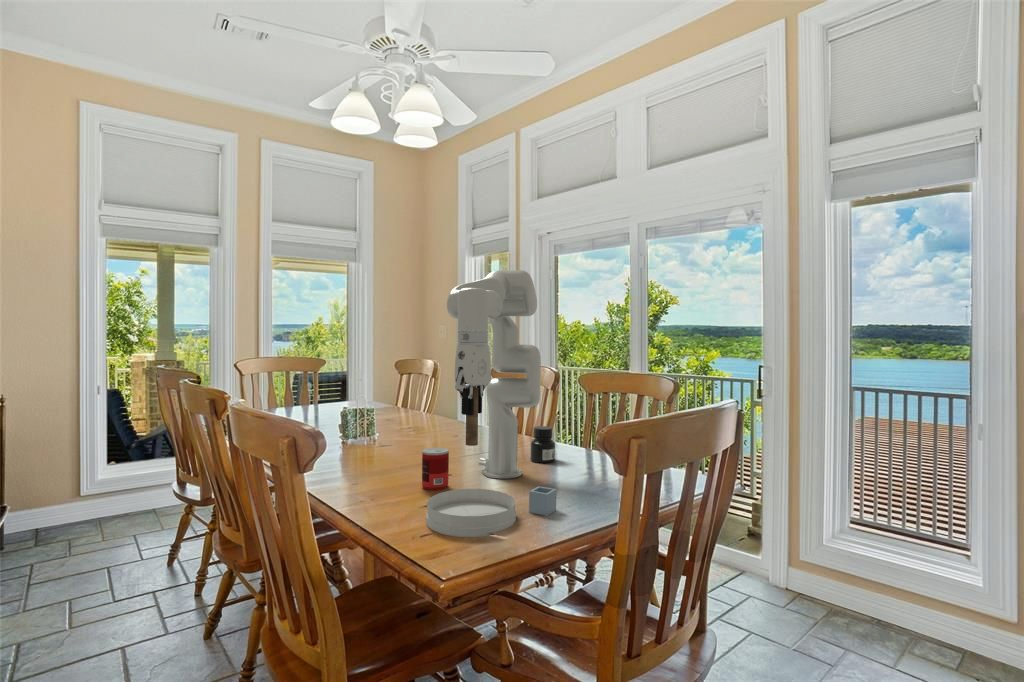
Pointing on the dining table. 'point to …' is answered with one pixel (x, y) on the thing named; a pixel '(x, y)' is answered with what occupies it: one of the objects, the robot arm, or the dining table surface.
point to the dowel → (472, 422)
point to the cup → (542, 501)
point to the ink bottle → (543, 445)
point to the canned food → (435, 468)
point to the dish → (470, 512)
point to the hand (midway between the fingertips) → (471, 413)
